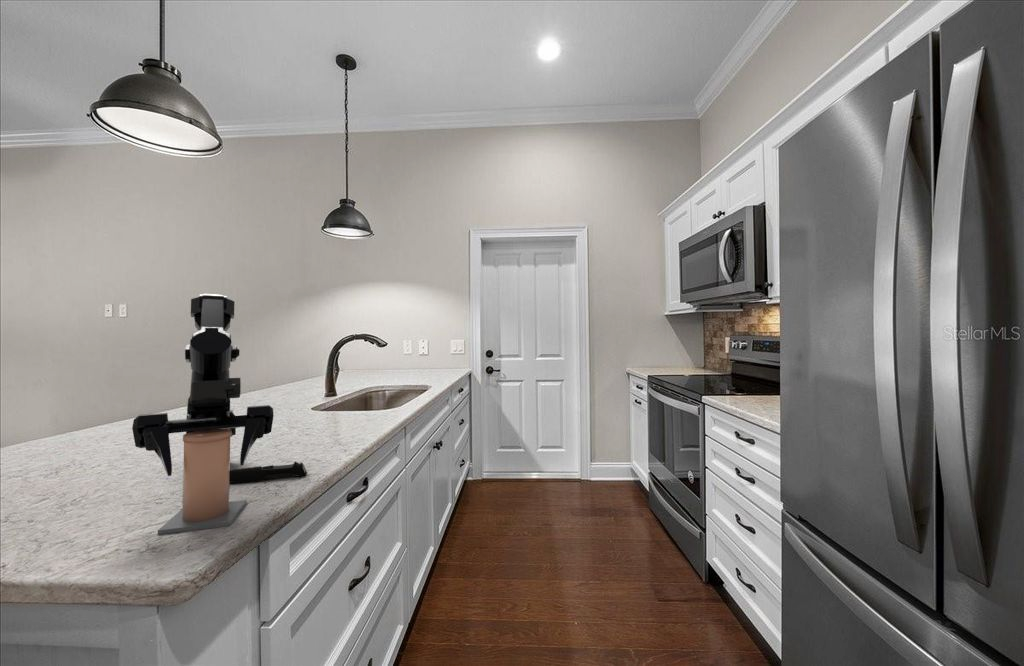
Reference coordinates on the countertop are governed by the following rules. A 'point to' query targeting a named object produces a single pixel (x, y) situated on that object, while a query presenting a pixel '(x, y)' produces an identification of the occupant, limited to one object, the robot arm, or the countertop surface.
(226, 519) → the coaster
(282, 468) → the electric trimmer
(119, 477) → the countertop surface
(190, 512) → the tumbler
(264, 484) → the countertop surface
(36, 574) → the countertop surface
